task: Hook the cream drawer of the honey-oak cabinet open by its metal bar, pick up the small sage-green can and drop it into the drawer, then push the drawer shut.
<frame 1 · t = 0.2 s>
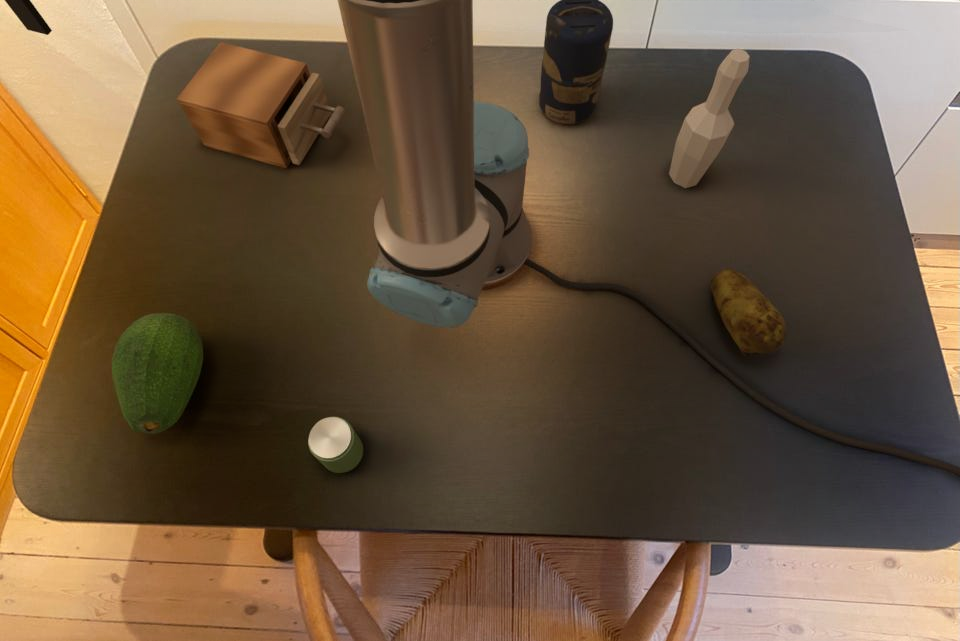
can: (342, 451, 74), on the table
bowling pin: (684, 176, 93), on the table
drawer: (284, 113, 92), point 5 cm above the table, slide at 1.0 cm
fruit: (175, 385, 78), on the table
potato: (735, 324, 82), on the table
cabinet: (263, 128, 97), on the table
canister: (566, 108, 99), on the table
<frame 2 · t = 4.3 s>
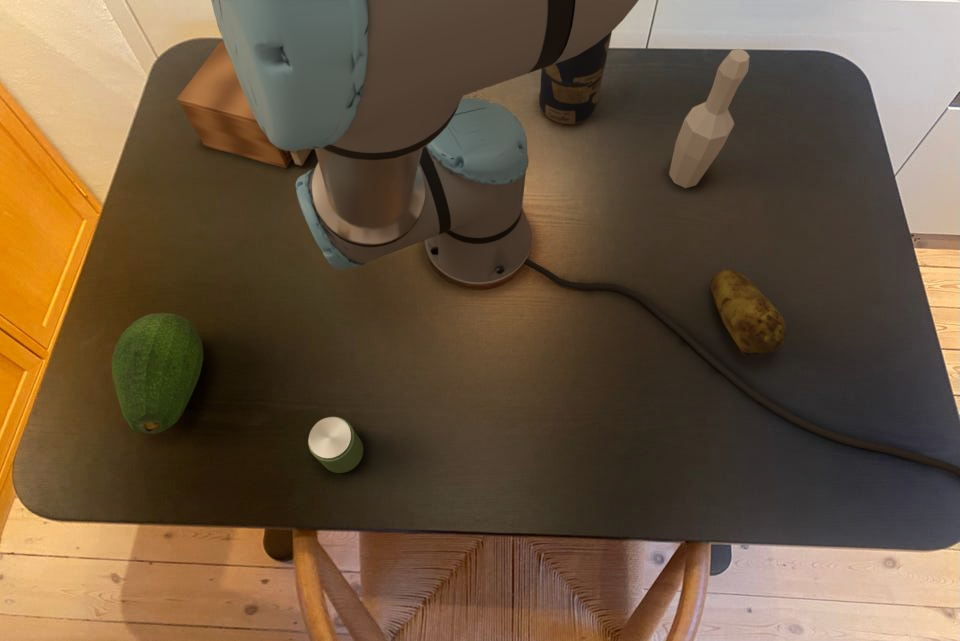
hand: (326, 129, 92), 3 cm above the table, tool pointing down, fingers closed
drawer: (286, 114, 92), point 5 cm above the table, slide at 1.4 cm
everything else where it was.
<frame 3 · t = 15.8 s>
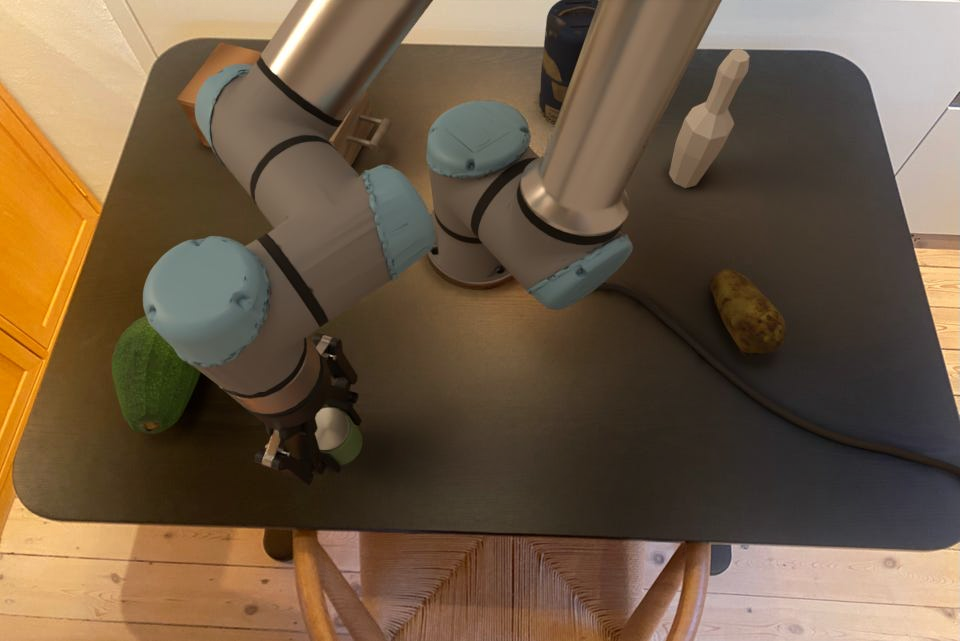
hand: (340, 442, 71), 3 cm above the table, tool pointing down, fingers closed on can, 5 cm apart
can: (340, 443, 71), point 3 cm above the table, touching gripper
drawer: (329, 125, 91), point 5 cm above the table, slide at 8.6 cm
everything else where it was.
when the fingers open (9 cm above the table, at t = 24.0 s): can stays where it is, resting on drawer.
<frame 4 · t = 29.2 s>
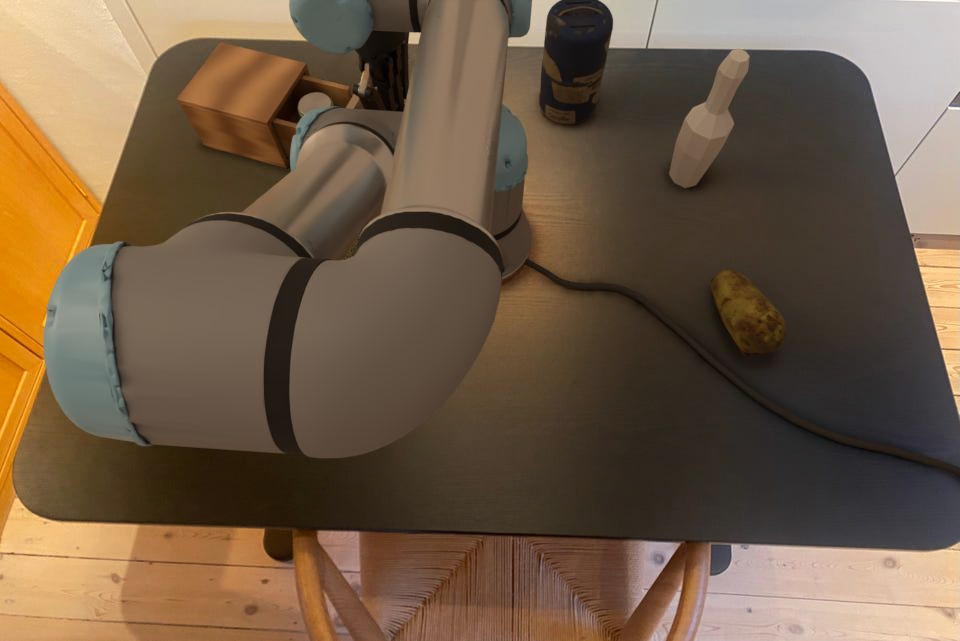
hand: (398, 147, 91), 3 cm above the table, tool pointing down, fingers closed
can: (325, 136, 94), point 2 cm above the table, touching drawer
drawer: (330, 125, 91), point 5 cm above the table, slide at 8.7 cm, touching can, gripper
everything else where it was.
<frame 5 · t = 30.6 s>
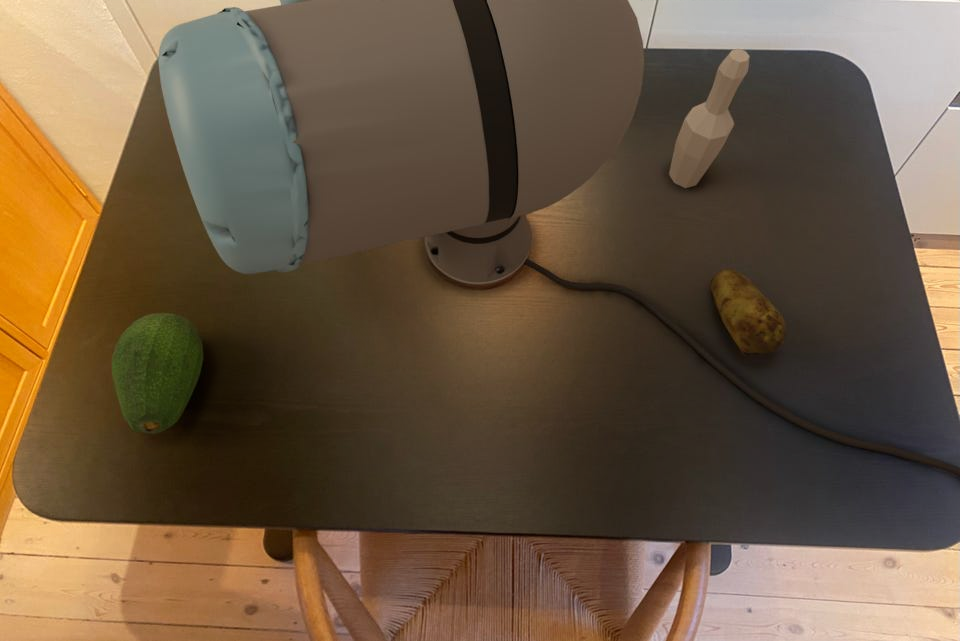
hand: (359, 142, 93), 2 cm above the table, tool pointing down, fingers closed
can: (286, 125, 95), point 2 cm above the table, touching drawer
drawer: (290, 115, 92), point 5 cm above the table, slide at 2.1 cm, touching can, gripper
everything else where it was.
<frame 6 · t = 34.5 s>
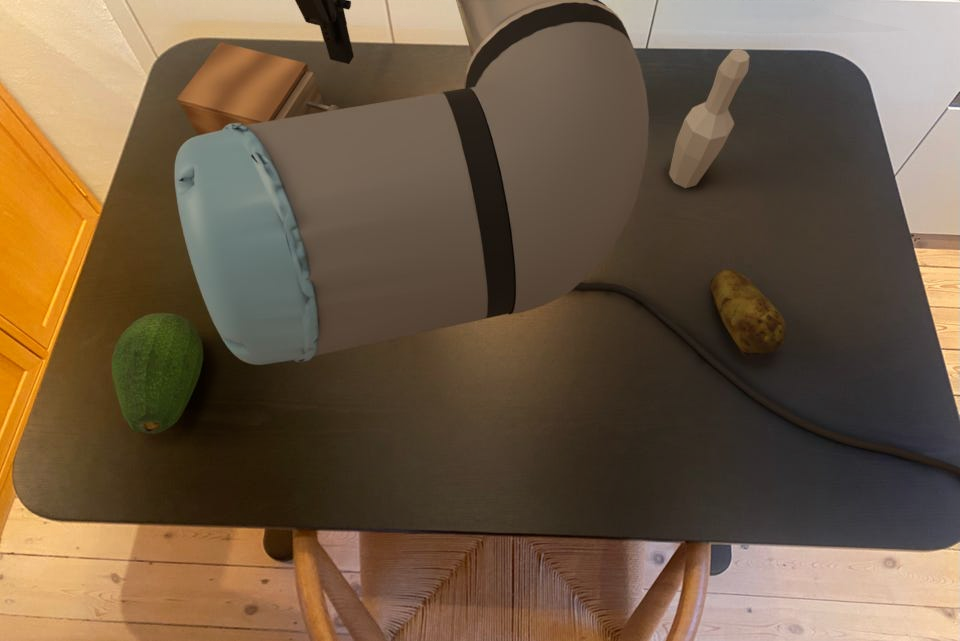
hand: (341, 57, 78), 18 cm above the table, tool pointing down, fingers closed
can: (274, 122, 95), point 2 cm above the table, touching drawer
drawer: (278, 112, 92), point 5 cm above the table, slide at 0.0 cm, touching can
everything else where it was.
at the end: can inside the target area in the cabinet (2.6 cm from its centre), point 2.0 cm above the cabinet's base; drawer slide at 0.0 cm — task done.
